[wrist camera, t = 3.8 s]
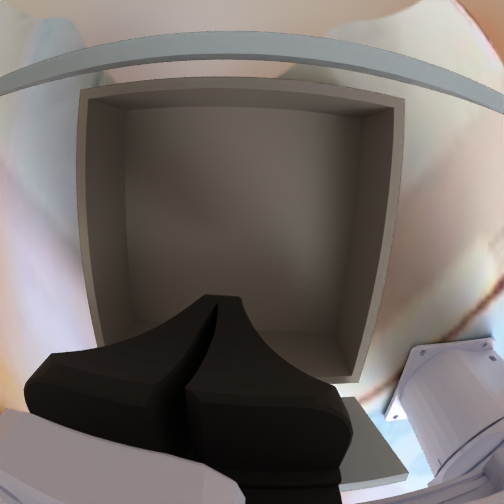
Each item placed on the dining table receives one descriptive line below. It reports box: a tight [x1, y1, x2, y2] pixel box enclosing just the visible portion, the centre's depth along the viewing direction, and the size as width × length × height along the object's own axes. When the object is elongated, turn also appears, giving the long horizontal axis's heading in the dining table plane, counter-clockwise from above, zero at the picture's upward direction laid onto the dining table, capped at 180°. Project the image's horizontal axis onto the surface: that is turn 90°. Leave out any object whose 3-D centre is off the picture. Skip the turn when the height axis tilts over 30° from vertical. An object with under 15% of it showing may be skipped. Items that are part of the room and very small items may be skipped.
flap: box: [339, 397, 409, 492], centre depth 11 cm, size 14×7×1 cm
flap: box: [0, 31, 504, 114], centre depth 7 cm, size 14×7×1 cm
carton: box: [76, 77, 405, 384], centre depth 15 cm, size 14×14×5 cm
